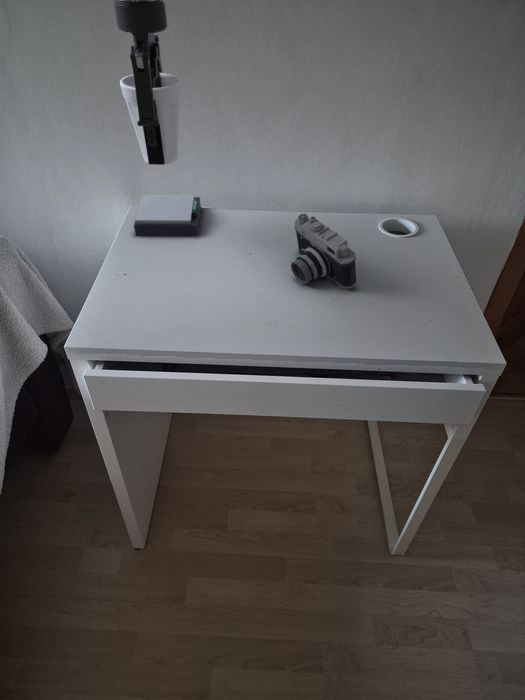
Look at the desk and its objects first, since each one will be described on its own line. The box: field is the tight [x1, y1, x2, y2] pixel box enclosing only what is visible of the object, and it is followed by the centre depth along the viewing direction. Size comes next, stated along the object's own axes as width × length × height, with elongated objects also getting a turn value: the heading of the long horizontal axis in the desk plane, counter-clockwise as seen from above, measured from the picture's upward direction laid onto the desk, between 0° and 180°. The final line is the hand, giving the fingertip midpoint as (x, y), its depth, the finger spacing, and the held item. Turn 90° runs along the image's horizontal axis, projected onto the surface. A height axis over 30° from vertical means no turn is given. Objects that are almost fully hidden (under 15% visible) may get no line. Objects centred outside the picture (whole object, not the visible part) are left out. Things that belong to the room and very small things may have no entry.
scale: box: [133, 194, 202, 237], centre depth 98 cm, size 13×13×4 cm
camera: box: [290, 213, 357, 289], centre depth 83 cm, size 16×9×10 cm, turn 34°
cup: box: [119, 72, 182, 166], centre depth 78 cm, size 10×10×13 cm
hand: (159, 153), depth 82 cm, fingers closed on cup, 8 cm apart
